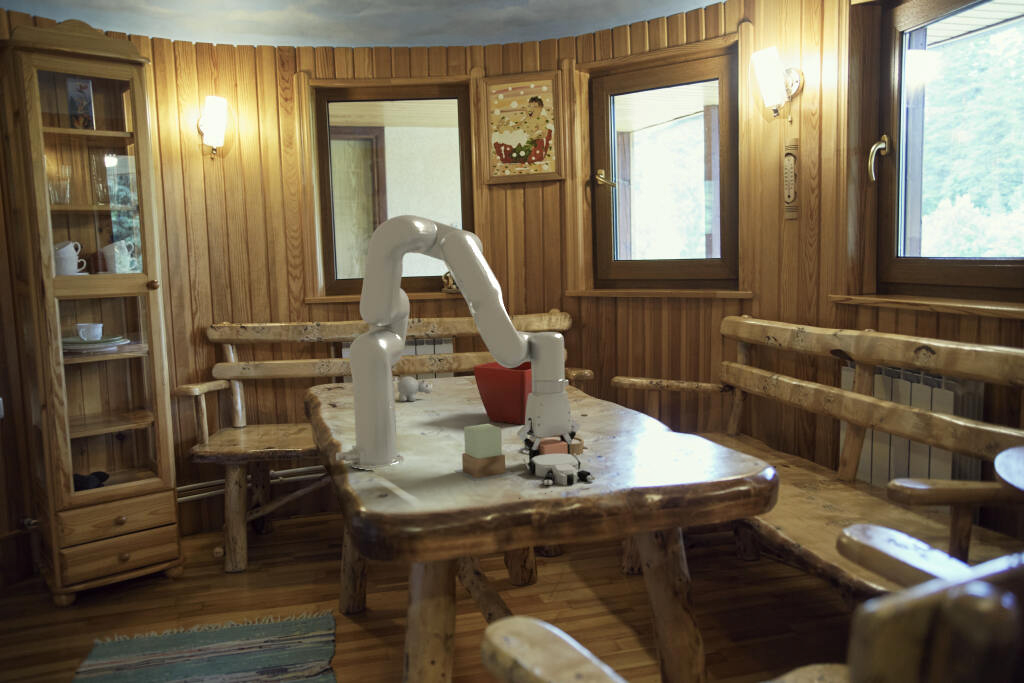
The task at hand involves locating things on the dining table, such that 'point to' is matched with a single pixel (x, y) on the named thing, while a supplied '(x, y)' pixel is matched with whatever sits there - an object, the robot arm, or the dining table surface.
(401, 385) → the round bodied animal figurine
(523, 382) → the plant pot
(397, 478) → the dining table surface
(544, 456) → the robot toy
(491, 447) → the sage cube
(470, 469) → the walnut block
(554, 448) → the terracotta cube
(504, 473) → the build board
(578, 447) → the alarm clock
